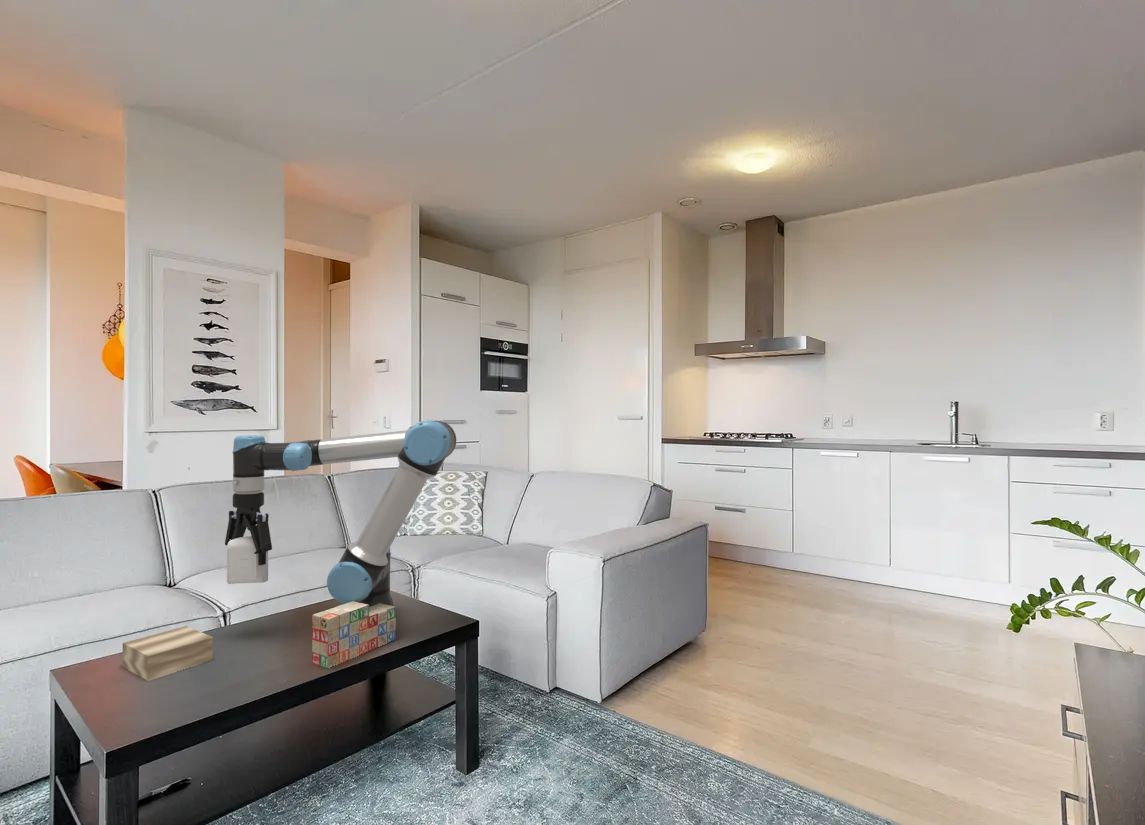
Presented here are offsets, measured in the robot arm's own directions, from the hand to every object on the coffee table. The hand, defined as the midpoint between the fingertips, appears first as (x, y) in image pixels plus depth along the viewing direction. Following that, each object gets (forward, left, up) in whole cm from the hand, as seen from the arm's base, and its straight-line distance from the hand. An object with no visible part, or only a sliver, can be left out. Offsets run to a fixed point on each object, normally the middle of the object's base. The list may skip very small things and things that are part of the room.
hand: (247, 574), depth 160 cm
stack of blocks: (-32, -8, -18) cm, 38 cm away
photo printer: (0, 0, -2) cm, 2 cm away
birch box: (+2, +19, -18) cm, 26 cm away
